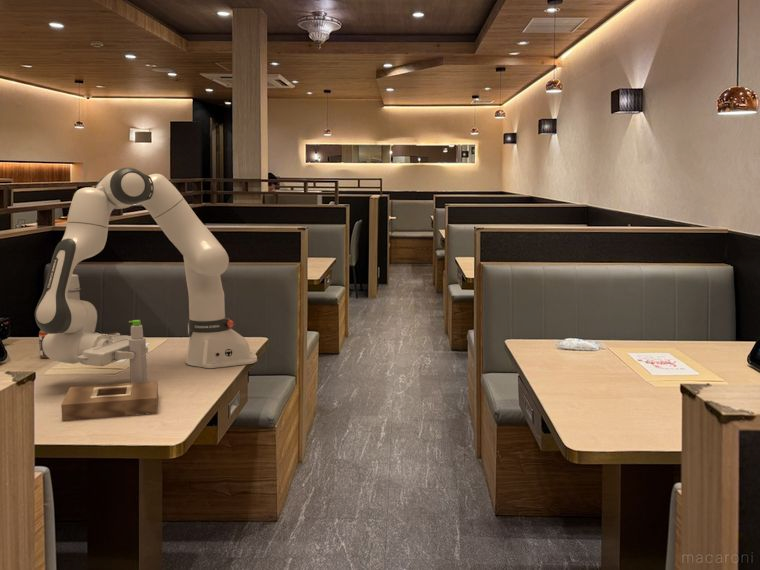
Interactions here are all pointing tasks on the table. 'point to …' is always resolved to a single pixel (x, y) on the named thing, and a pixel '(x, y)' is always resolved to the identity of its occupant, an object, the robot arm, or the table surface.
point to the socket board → (110, 400)
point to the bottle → (138, 353)
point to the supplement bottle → (41, 337)
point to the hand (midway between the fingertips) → (140, 353)
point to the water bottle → (74, 288)
